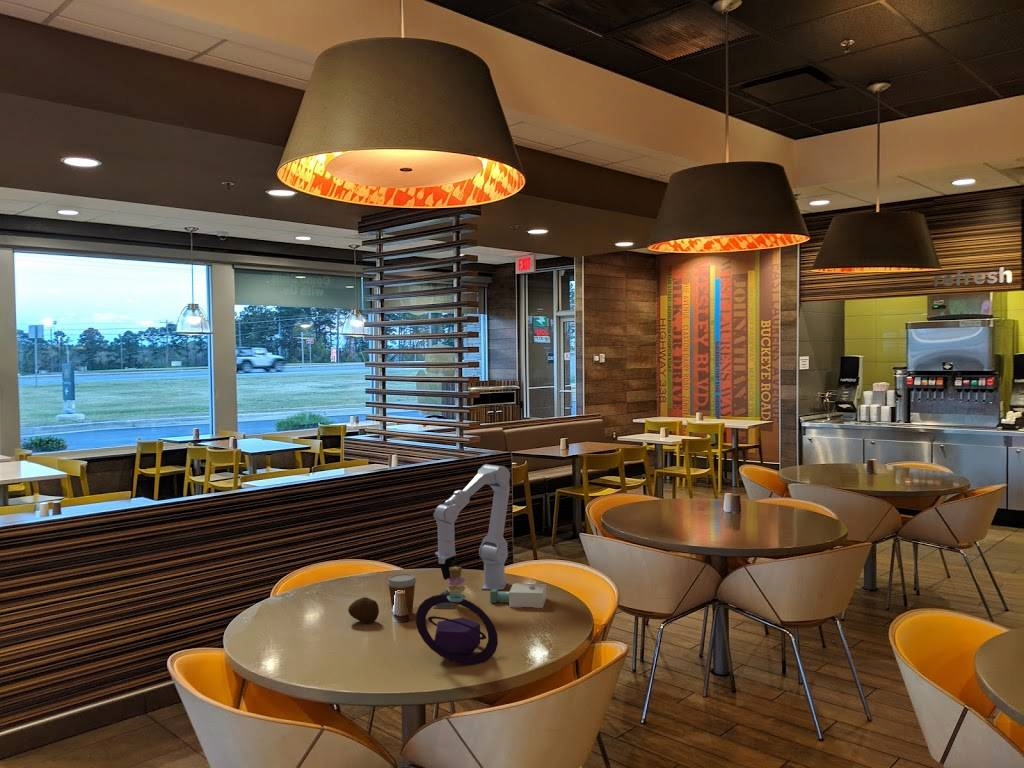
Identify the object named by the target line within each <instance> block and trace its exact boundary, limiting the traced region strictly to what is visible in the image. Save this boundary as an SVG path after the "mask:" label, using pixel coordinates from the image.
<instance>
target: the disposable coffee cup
mask: <svg viewBox="0 0 1024 768" xmlns="http://www.w3.org/2000/svg"><path fill="white" fill-rule="evenodd" d="M416 582H417V579H416V576H415V575H413V574H410V573H397V574H396V573H395V574H394V575H393V574H392V575H391V576H389V577H388V578H387V582H386V583H387V586H388V591H389V596H390V601H391V608H392V609H391V610H392V611H393V605H394V595H395V591H397V590H403V591H404V590H405V593H406V599H407V608H408V613H409V615H408V616H411V615H412V614H413V610H414V609H413V608H414V601H415V600H414V597H415V589H416V588H415V586H416Z"/></svg>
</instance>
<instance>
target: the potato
mask: <svg viewBox="0 0 1024 768" xmlns="http://www.w3.org/2000/svg"><path fill="white" fill-rule="evenodd" d="M347 611H348V614H349V615H350V616H351V618H354V619H355V620H356V621H359V622H361V623H364V624H365V623H366V624H372V623H374V622H376V620H377V619H378V617H379V613H380V607H379V605H378V603H377V601H376V600H374V599H372V598H369V597H367V596H365V597H364V596H363V597H360V598H359V599H355V600H354V601H353V602H352V603H351V604H350V605H349V606H348V610H347Z"/></svg>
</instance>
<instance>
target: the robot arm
mask: <svg viewBox="0 0 1024 768" xmlns="http://www.w3.org/2000/svg"><path fill="white" fill-rule="evenodd" d="M510 479H511V473H510V470H508V468H507V467H506V466H504V465H495V464H494V465H493V464H489V463H485V464H483V465H482V466H481V467H480V468H479V469H478V470H477V474H476V475H474V477H473V478H472V479H471V480H470V481H469V483H468V484H467V485H466V486H465V487H464V488H463V489H458V490H455V491H454V492H453V494H452V495H451V496H450V497H449V498H448V499H447V500H445V502H444V503H443V504H442V503H441V504H439V505H438V506H437V507H436V508H435V510H434V512H433V518H434V520H435V521H436V525H437V551H436V552H434V555H435V556H437V557H438V558H437V564H438V565H439V567H440V569H441V573H442V577H443V580H444V581H446V580H447V579H448V578H451V577H450V571H449V567H454V565H455V561H456V560H457V557H455V556H456V554H457V552H456V545H455V543H456V541H455V540H456V538H455V535H456V534H455V522H456V521H457V520H458V517H459V514H460V512H461V511H462V510H463V509H464V508H465V507H466V506H467V505H468V504H469V503H470V499H471V498H470V497H472V496H473V495H474V494H476V492H477V491H479V490H480V489H481V488H482V487H483V486H485V485H489V486H490V488H491V489H492V490H493V497H492V504H491V505H492V506H491V512H490V519H489V525H488V532H487V535H485V536H484V537H483V538H482V541H481V544H480V546H479V549H478V550H479V551H478V555H479V557H480V558H481V559H482V562H483V579H484V580H483V581H484V583H483V586H482V587H481V590H492V589H498V591H501V590H502V591H503V590H505V588H506V586H507V584H508V580H506V579H505V578H506V577H505V576H506V574H505V573H506V571H505V563H506V561H507V559H508V556H509V551H508V544H509V543H508V542H507V540H506V539H505V538H504V532H505V526H506V518H507V511H508V505H509V504H508V503H509V498H510V497H509V496H510V490H511V489H510V488H511V487H510V485H511V484H510Z"/></svg>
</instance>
